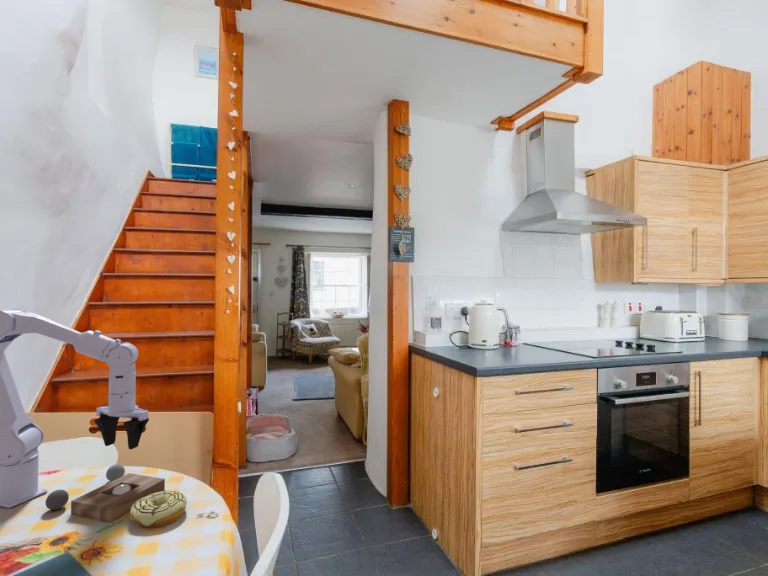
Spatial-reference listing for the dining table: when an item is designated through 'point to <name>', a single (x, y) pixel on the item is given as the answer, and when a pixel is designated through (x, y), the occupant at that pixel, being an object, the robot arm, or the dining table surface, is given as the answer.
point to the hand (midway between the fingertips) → (121, 446)
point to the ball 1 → (57, 499)
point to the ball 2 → (115, 472)
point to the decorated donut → (158, 509)
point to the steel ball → (121, 490)
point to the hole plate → (115, 498)
